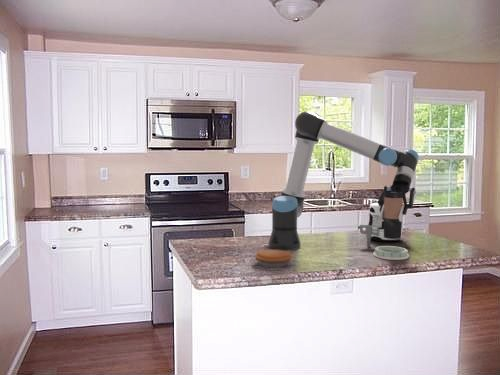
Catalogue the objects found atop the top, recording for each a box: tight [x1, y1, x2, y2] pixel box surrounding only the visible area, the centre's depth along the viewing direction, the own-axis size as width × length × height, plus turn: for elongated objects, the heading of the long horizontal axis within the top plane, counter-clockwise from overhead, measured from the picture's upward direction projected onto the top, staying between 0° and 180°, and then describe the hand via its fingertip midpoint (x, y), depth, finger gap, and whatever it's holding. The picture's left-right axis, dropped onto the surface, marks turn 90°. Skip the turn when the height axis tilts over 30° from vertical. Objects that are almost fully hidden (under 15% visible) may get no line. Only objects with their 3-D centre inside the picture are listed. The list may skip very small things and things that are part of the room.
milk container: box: [367, 202, 404, 242], centre depth 234 cm, size 17×17×18 cm
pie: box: [254, 249, 294, 268], centre depth 189 cm, size 16×16×5 cm
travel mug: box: [384, 190, 403, 240], centre depth 201 cm, size 8×8×20 cm
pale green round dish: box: [372, 245, 410, 261], centre depth 202 cm, size 15×15×3 cm
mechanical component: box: [357, 224, 381, 248], centre depth 220 cm, size 3×10×10 cm, turn 79°
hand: (390, 218), depth 198 cm, fingers closed on travel mug, 7 cm apart
